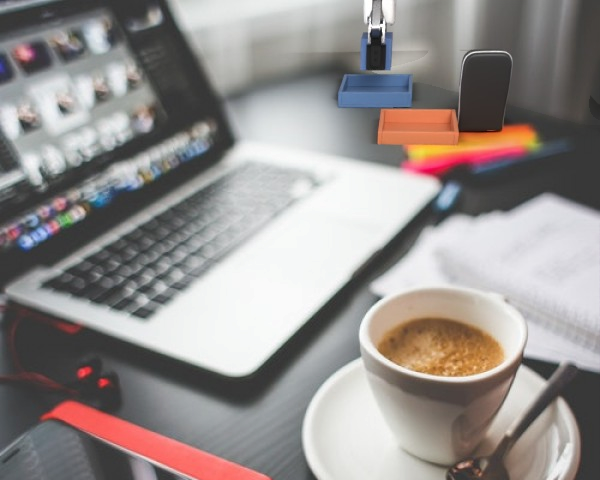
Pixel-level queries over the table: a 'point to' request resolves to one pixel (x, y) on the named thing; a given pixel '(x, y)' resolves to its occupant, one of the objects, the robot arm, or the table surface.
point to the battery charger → (484, 89)
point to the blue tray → (375, 90)
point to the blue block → (388, 49)
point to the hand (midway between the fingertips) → (376, 64)
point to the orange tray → (418, 127)
